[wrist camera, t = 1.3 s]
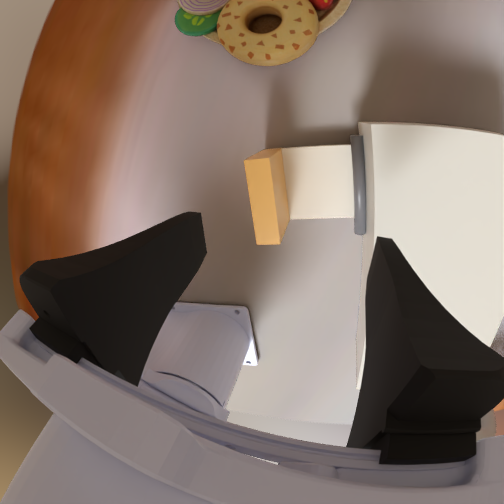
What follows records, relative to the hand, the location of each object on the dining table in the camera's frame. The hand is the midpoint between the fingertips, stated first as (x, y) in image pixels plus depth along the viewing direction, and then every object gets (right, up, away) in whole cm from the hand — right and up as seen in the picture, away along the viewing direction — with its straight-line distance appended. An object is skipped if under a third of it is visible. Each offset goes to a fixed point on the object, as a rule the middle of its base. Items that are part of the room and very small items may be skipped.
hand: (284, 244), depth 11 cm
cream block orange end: (+7, +5, +7) cm, 11 cm away
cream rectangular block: (+13, 0, +8) cm, 15 cm away
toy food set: (-1, +19, +2) cm, 19 cm away
